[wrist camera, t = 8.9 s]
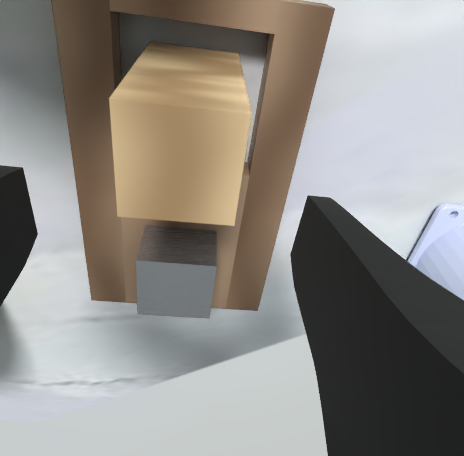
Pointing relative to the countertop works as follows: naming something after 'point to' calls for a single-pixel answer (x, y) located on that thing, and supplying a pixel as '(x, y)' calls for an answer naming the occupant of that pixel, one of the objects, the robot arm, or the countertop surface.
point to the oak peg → (180, 135)
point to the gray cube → (176, 271)
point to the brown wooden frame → (254, 172)
